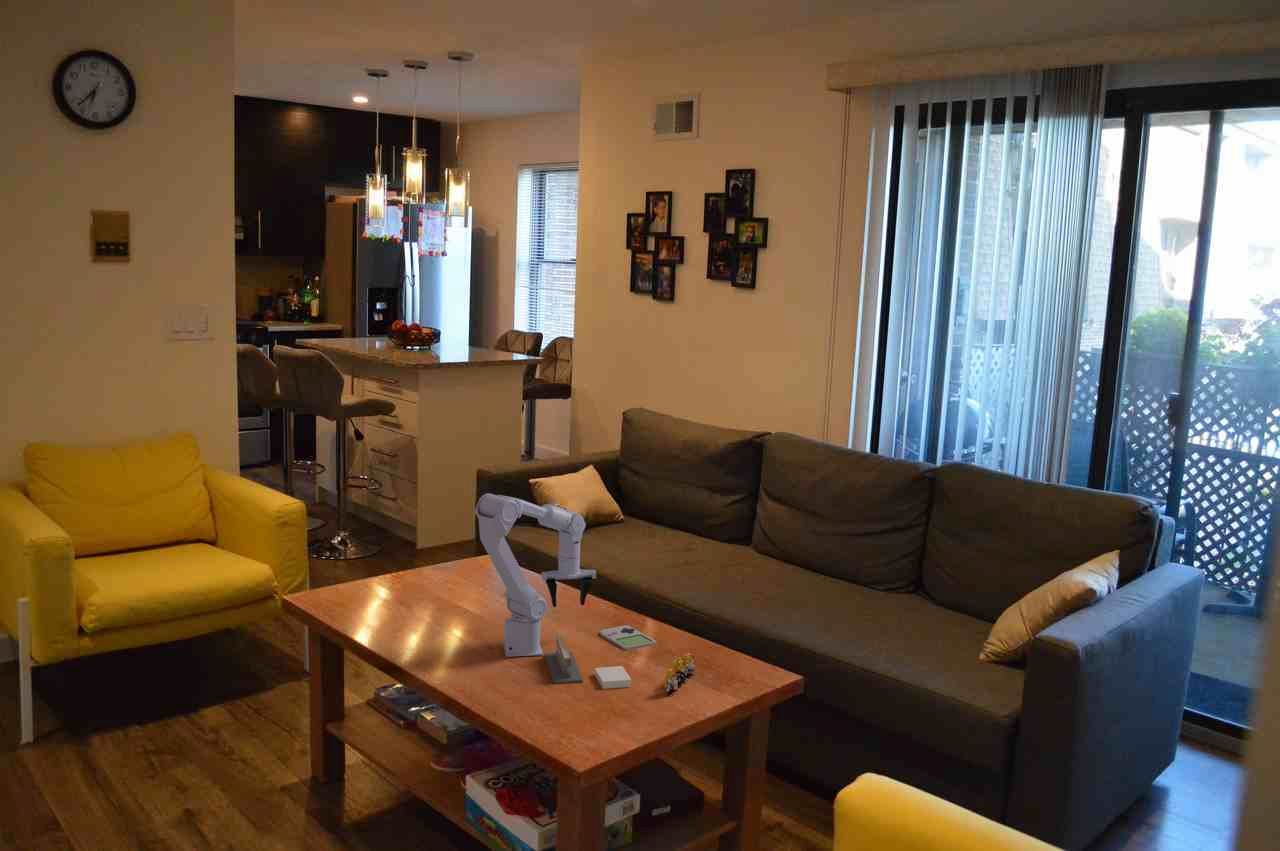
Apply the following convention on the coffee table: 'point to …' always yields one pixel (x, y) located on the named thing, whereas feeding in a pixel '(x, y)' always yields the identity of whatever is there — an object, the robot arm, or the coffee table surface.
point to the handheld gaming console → (627, 637)
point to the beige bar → (563, 656)
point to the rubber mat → (557, 671)
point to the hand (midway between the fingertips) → (568, 605)
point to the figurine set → (679, 673)
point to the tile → (612, 677)
